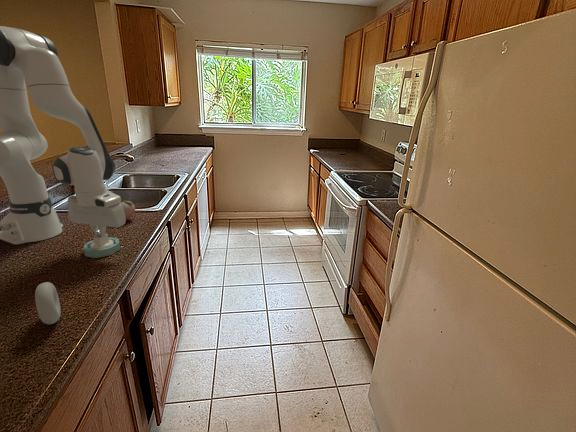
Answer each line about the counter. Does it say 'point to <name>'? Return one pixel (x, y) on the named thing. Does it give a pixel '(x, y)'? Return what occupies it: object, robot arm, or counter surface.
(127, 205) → the decorative fruit
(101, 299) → the counter surface
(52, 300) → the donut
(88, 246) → the studded octagonal holder
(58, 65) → the robot arm
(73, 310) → the counter surface
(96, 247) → the cap
